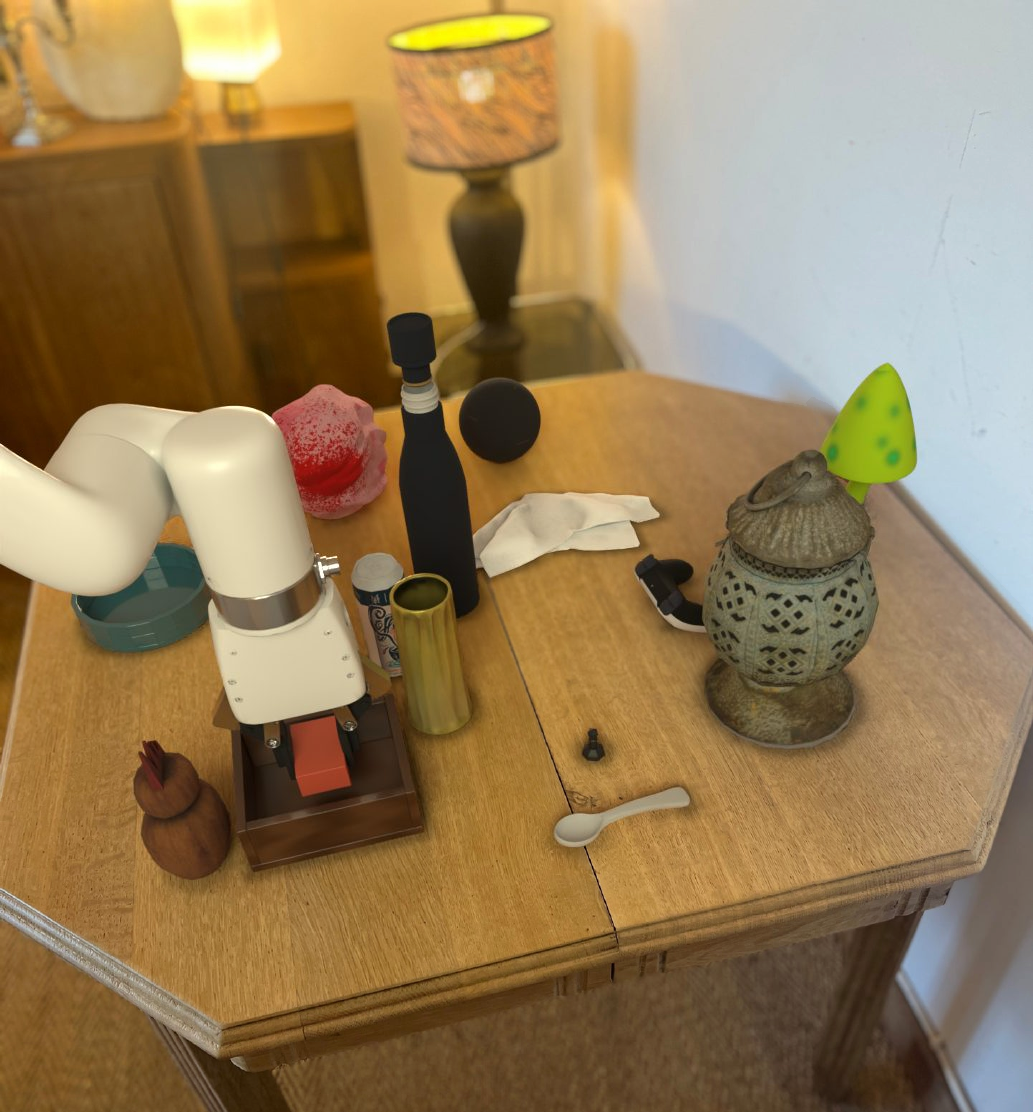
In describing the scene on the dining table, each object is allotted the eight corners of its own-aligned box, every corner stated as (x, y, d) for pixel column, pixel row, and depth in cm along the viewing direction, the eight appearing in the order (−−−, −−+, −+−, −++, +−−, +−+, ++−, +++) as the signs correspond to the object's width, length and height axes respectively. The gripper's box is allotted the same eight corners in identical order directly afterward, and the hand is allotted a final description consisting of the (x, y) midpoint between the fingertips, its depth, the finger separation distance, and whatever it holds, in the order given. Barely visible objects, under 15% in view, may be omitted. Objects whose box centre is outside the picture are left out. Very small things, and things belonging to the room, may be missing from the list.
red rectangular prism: (351, 785, 79) (345, 766, 78) (302, 797, 79) (295, 777, 77) (343, 734, 83) (337, 714, 82) (296, 744, 83) (289, 725, 81)
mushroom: (829, 632, 95) (879, 395, 78) (778, 585, 101) (815, 354, 84) (899, 606, 97) (963, 370, 80) (846, 561, 103) (895, 332, 86)
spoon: (547, 831, 80) (547, 815, 79) (676, 791, 83) (679, 776, 82) (561, 858, 78) (562, 843, 77) (693, 817, 81) (696, 801, 80)
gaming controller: (663, 593, 105) (619, 567, 100) (692, 562, 103) (648, 535, 99) (707, 656, 97) (661, 631, 93) (738, 624, 95) (694, 596, 91)
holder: (253, 872, 79) (235, 832, 76) (246, 769, 87) (230, 728, 84) (423, 832, 81) (415, 791, 77) (401, 734, 89) (392, 693, 86)
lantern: (769, 775, 83) (812, 531, 66) (665, 681, 92) (678, 444, 75) (888, 706, 88) (957, 462, 70) (777, 623, 97) (814, 389, 79)
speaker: (456, 477, 120) (447, 402, 113) (470, 435, 127) (462, 362, 120) (537, 479, 118) (533, 403, 112) (546, 436, 126) (543, 362, 119)
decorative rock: (409, 508, 106) (390, 365, 103) (275, 523, 103) (252, 376, 100) (390, 514, 124) (374, 392, 121) (276, 527, 121) (257, 402, 118)
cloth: (638, 478, 117) (638, 462, 116) (676, 543, 107) (677, 526, 106) (424, 516, 114) (421, 500, 113) (443, 586, 104) (440, 569, 103)
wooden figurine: (219, 896, 78) (158, 772, 67) (152, 888, 79) (82, 765, 68) (250, 829, 82) (198, 703, 72) (186, 822, 83) (126, 697, 73)
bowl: (78, 665, 99) (65, 639, 97) (88, 582, 109) (76, 557, 107) (219, 636, 101) (210, 610, 99) (216, 557, 111) (207, 532, 109)
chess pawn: (576, 753, 86) (575, 730, 84) (592, 740, 87) (591, 717, 85) (593, 764, 85) (593, 741, 83) (609, 751, 86) (609, 728, 84)
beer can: (393, 687, 94) (372, 589, 85) (361, 666, 96) (337, 568, 88) (429, 660, 96) (412, 562, 88) (397, 640, 99) (377, 543, 90)
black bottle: (406, 607, 102) (355, 328, 82) (444, 574, 106) (404, 300, 85) (455, 627, 100) (414, 344, 79) (491, 593, 103) (462, 313, 82)
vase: (468, 684, 93) (452, 564, 83) (477, 730, 89) (461, 609, 79) (405, 695, 93) (381, 575, 83) (411, 741, 89) (386, 621, 79)
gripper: (377, 532, 72) (413, 707, 84) (146, 579, 70) (218, 751, 82) (393, 593, 66) (429, 770, 79) (143, 645, 64) (221, 819, 77)
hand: (321, 759), depth 81 cm, fingers closed on red rectangular prism, 4 cm apart
